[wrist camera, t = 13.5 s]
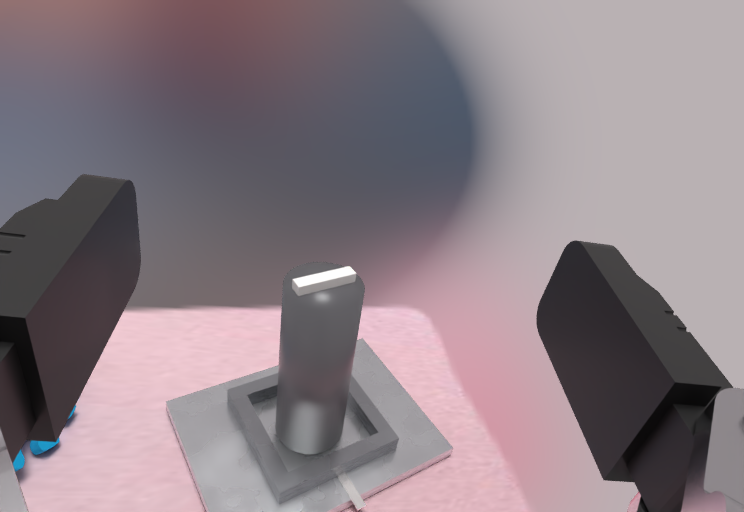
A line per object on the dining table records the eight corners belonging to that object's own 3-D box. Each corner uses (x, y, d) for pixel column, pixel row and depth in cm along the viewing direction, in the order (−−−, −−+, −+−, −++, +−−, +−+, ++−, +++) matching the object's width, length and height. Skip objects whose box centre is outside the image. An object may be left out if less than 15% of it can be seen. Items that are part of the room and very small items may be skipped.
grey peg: (292, 464, 34) (305, 310, 27) (264, 412, 37) (270, 262, 30) (355, 438, 36) (381, 290, 29) (323, 391, 39) (341, 247, 32)
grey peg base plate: (233, 582, 28) (233, 563, 27) (166, 409, 37) (164, 389, 36) (457, 464, 37) (464, 446, 36) (361, 345, 45) (364, 327, 44)
